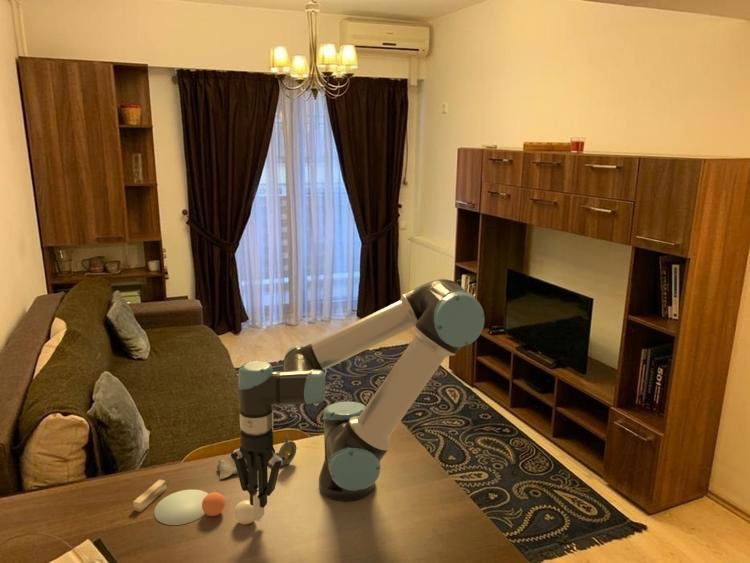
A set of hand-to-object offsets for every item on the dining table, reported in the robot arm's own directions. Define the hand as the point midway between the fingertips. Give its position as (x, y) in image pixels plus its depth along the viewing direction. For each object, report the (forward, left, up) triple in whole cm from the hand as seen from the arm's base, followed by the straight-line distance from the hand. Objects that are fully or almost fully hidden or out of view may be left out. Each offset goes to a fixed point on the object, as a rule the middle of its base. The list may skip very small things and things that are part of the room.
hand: (259, 516), depth 134 cm
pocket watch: (-11, -25, -3) cm, 27 cm away
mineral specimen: (+2, -27, -3) cm, 27 cm away
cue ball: (+3, -3, 0) cm, 4 cm away
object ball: (+10, -9, 0) cm, 13 cm away
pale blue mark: (+17, -15, -3) cm, 22 cm away
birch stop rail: (+24, -21, -3) cm, 32 cm away
